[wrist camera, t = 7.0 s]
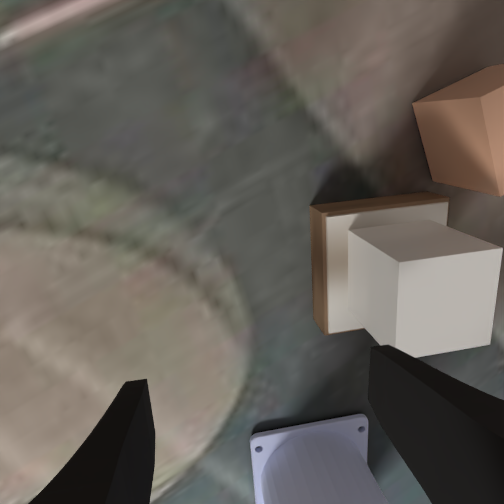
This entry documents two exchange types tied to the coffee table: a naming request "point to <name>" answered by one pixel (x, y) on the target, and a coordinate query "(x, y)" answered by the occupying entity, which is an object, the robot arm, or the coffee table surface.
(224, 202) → the coffee table surface
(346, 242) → the plinth
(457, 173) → the terracotta block
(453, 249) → the stone block
